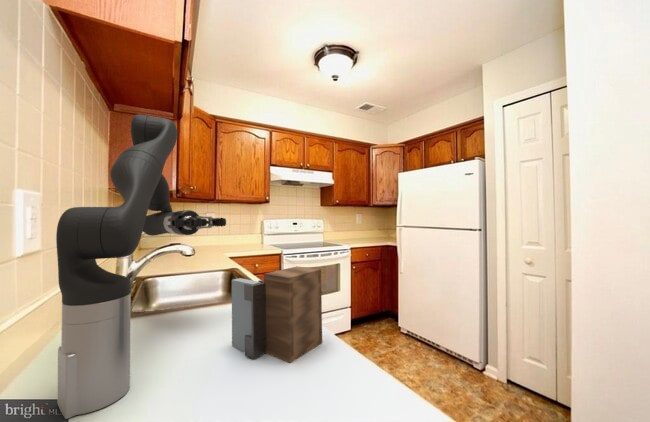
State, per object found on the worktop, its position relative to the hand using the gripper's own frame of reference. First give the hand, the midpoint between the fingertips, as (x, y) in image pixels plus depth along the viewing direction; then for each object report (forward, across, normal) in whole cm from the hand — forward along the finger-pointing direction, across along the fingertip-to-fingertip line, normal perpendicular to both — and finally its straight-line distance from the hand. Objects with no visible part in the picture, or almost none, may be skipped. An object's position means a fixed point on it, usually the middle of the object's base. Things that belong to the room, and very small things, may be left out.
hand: (210, 222), depth 73 cm
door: (+15, 0, +30) cm, 34 cm away
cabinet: (+24, +7, +30) cm, 39 cm away
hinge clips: (+19, 0, +30) cm, 35 cm away
